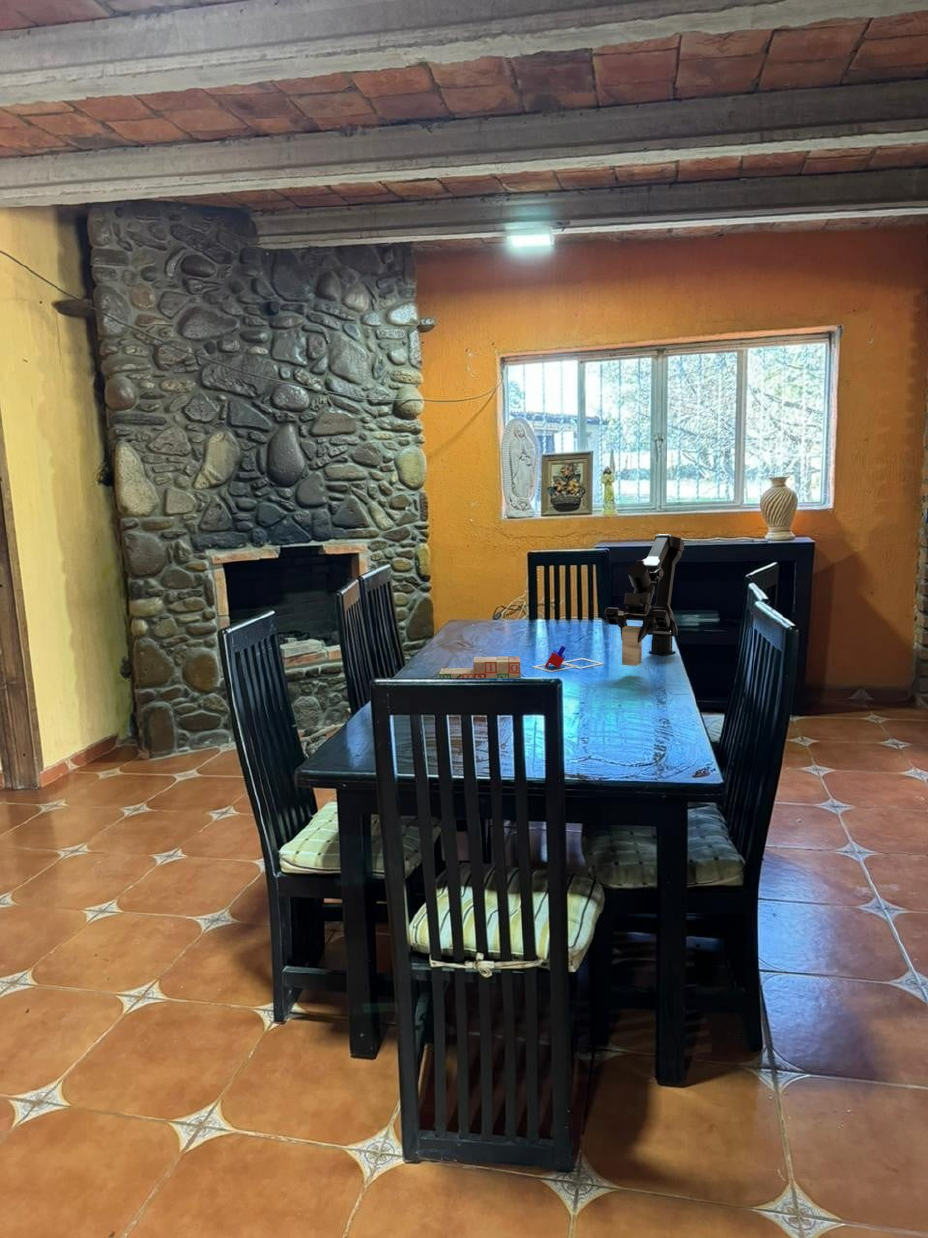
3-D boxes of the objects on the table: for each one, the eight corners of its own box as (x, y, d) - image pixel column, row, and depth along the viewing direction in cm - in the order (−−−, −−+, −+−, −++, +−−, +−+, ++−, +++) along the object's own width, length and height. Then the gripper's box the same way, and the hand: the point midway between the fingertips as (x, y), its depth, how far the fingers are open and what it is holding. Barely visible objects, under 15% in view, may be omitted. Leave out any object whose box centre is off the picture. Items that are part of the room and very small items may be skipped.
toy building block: (556, 673, 251) (568, 651, 249) (544, 666, 252) (556, 644, 249) (557, 670, 255) (570, 648, 252) (546, 663, 255) (558, 642, 253)
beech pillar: (626, 661, 242) (626, 625, 240) (641, 662, 240) (641, 626, 238) (622, 664, 238) (621, 628, 236) (636, 666, 236) (636, 629, 234)
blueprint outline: (579, 657, 264) (579, 657, 264) (604, 663, 254) (604, 663, 254) (531, 667, 254) (531, 666, 254) (555, 673, 244) (555, 673, 244)
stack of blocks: (439, 708, 212) (438, 662, 210) (442, 701, 218) (440, 657, 216) (521, 707, 211) (520, 661, 208) (521, 700, 217) (520, 655, 215)
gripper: (606, 581, 243) (593, 623, 235) (667, 583, 234) (656, 627, 226) (614, 602, 251) (602, 644, 243) (674, 605, 242) (663, 649, 234)
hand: (630, 641), depth 237 cm, fingers closed on beech pillar, 4 cm apart
